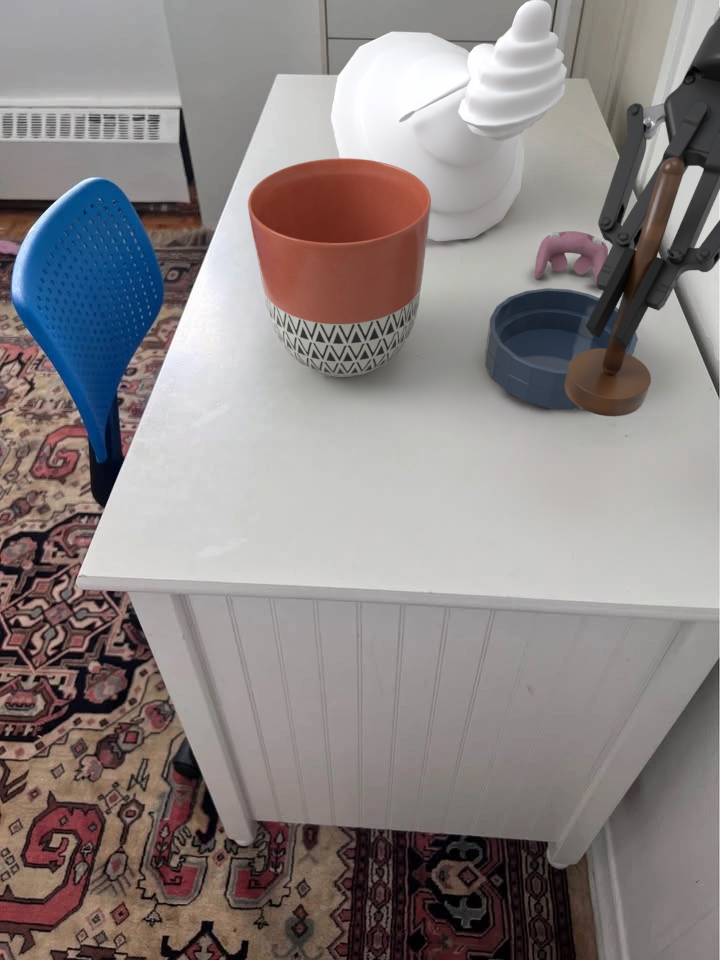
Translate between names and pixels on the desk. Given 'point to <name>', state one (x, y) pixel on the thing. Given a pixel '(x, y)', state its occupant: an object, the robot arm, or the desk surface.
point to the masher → (612, 372)
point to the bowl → (542, 343)
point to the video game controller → (571, 242)
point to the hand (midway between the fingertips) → (606, 336)
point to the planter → (341, 260)
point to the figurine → (452, 114)
